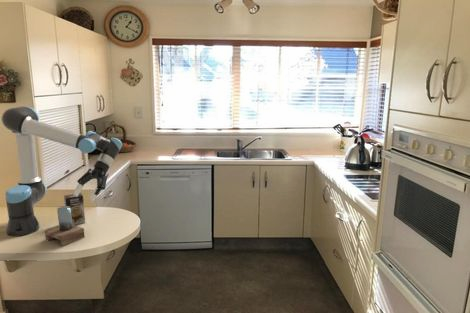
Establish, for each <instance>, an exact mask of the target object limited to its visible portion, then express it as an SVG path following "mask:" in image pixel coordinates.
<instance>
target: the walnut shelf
mask: <svg viewBox="0 0 470 313" xmlns="http://www.w3.org/2000/svg"><path fill="white" fill-rule="evenodd" d="M72 226H73V228H72V229H71V230H68V231H60V229H59V225H57V226H55V227H51V228H48V229H45V230H44V233H45V234H44V236H45V241H47V240H48V241H47V242H49V240H50V241H52V240H54V238H55V239H57V240H59V244H60V246H61V247H65V246H68V245H70V244H72V243H75V242H77V241H79V240H82V239H84V238H85V228H84V227H81V226H78V225H72Z"/></svg>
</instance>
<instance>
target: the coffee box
mask: <svg viewBox="0 0 470 313" xmlns="http://www.w3.org/2000/svg"><path fill="white" fill-rule="evenodd" d="M63 201H64V206H70V207H71V217H72V225H75V226H77V225H80V224H86V218H85V216H86V215H85V205H84V204H85V203H84V195H83V194H82V193H81V192H80V193H79V195H78V196H77V197H76V196H75V195H73V193H72V194H67V195H65V194H64V195H63Z"/></svg>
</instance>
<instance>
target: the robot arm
mask: <svg viewBox="0 0 470 313" xmlns="http://www.w3.org/2000/svg"><path fill="white" fill-rule="evenodd" d="M1 122H2V125H3V126H4V127H5V128H6V129H8V130H9V131H11V132H12V134H13V135H15V139H16V147H17V156H18V165H19V173H20V178H19V179H18V181H17V183H18V185H15V186H12V187H9V189H8V188H7V190H6V191H5V198H4V199H5V202H6V203H5V204H6V209H7V216H8V221H7V226H6V234H7V235H8V234H10V235H21V236H25V235H24V234H26V235H29V233H30V234H33V233H35V232H36V231H38V230H40V222H39V221H38V219H37V217H36V216H35V211H34V205H35V204H37V203H38V202H40V201H41V200H42V199H43V198H44V197H45V195H46V193H47V186H46V185H45V183H43V179H42V177H40V176H39V170H38V160H37V150H36V141H35V140H36V139H35V137H38V138H41V139H44V140H49V141H52V142H55V143H59V144H60V145H61V144H62V145H65V146H67V147H72V148H74V149H78V150H79V151H80V152H81V153H84V154H88V153H92V152H94V151H95V150H99V151H101V153H100V155H99V156H98V158H97V160H96V162H95V163H94V165H93V167H94V168H93V169H92V168H89V169H88V170H87V171H86V172H85V173H84V174H83V175H81V177H80V178H79V179H77V180H76V182H77V183H78V184H77V186H76V188H75V190H74V192H73V193H72V194H73V195H75V196H76V197H77V196H78V195H79V193H81V192H82V190H83V189H84V186H85V184H87V183H88V182H90V181H91V180H95V179H96V183H97V184H96V187H95V188H94V189H93V192H92V193H91V195H90V196H89V198H88V199H89V200H90V201H91V202H94V201H95V200H96V198H97V196H98V195H99V194H100V192H101V191H103V190H106V187H107V186H106V185H107V181H108V177H109V173H108V171H109V169H110V167H111V166H112V164H113V162H114V160H115V159H116V157H117V155H118V154H119V153H120V151H121V148H122V147H123V142H122V141H121V140H120V139H119V138H116V137H113V136H112V137H111V138H106V137H104V136H102V135H100V134H98V133H97V132H96V131H95V132H94V131H92V130H88V131H87V132H86V133H85V135H83V134H81V133H78V132H74V131H71V130H69V129H66V128H65V129H64V128H62V127H58V126H56V125H52V124H48V123H46V122H43V121H40V117H39V114H38V112H37V111H36V110H35V109H34V108H32V107H31V106H30V107H29V106H18V107H17V106H16V107H12V108H9V109H6V110H5V111H4V112H3V113H2V114H1ZM32 232H33V233H32ZM10 235H9V236H10Z"/></svg>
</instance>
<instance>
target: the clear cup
mask: <svg viewBox="0 0 470 313" xmlns="http://www.w3.org/2000/svg"><path fill="white" fill-rule="evenodd" d="M56 211H57V217H58V218H57V219H58V226H59V229H60V231H68V230H71V229H72V228H73V226H72V217H71V207H70V206H65V205H64V206H60V207H58V208H57V210H56Z"/></svg>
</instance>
